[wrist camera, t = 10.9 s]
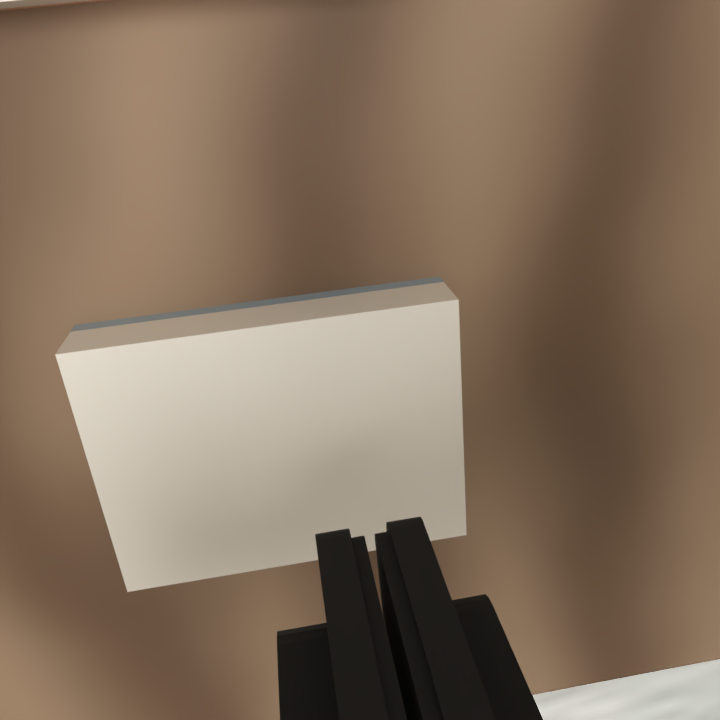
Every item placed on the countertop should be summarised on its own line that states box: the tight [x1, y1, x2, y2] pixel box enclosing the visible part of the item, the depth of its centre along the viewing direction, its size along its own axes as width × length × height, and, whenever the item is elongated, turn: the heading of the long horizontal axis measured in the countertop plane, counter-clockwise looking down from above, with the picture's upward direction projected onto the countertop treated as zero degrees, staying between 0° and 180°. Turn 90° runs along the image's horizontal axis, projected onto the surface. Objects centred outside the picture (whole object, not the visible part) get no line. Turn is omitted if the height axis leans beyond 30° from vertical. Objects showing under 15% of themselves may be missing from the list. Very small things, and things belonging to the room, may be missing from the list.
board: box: [0, 0, 720, 720], centre depth 15 cm, size 24×30×2 cm
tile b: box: [55, 276, 467, 592], centre depth 16 cm, size 2×6×8 cm
